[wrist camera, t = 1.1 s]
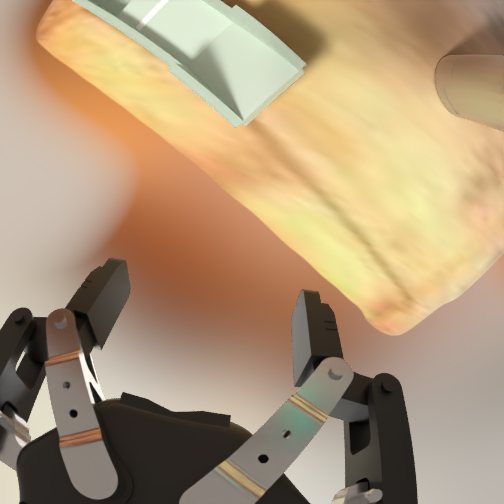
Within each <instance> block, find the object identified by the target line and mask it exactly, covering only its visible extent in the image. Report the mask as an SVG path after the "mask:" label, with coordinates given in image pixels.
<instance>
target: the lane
mask: <svg viewBox="0 0 504 504" xmlns="http://www.w3.org/2000/svg"><path fill="white" fill-rule="evenodd" d="M72 1H74V2H75V3H77V4H79V5H81V6H82V7H84V8H86V9H87V10H89V11H91V12H92V13H94V14H96V15H97V16H99V17H100V18H102V19H104V20H105V21H107V22H108V23H110V24H111V25H113V26H114V27H116V28H117V29H119V30H120V31H122V32H123V33H125V34H126V35H128V36H129V37H131V38H132V39H133V40H135V41H136V42H138V43H139V44H140V45H142V46H143V47H145V48H146V49H147V50H149V51H150V52H151V53H153V54H154V55H155V56H157V57H158V58H159V59H161V60H162V61H163V62H165V63H166V64H167V65H169V66H170V68H169V69H168V71H169V72H170V73H172V74H173V75H174V76H175V77H177V78H178V79H179V80H180V81H182V82H183V83H184V84H185V85H186V86H188V87H189V88H190V89H191V90H192V91H194V92H195V93H196V94H197V95H198V96H200V97H201V98H202V99H203V100H204V101H205V102H207V103H208V104H209V105H210V106H211V107H212V108H214V109H215V110H216V111H217V112H218V113H219V114H220V115H222V116H223V117H224V118H225V119H226V120H227V121H228V122H229V123H230V124H232V125H233V126H234V127H235V128H236V127H237V126H238V125H239V124H241V125H243V126H246V125H247V124H249V123H250V122H251V121H252V120H253V119H254V118H255V117H256V116H257V115H258V114H259V113H260V112H261V111H262V110H263V109H265V108H266V107H267V106H268V105H269V104H270V103H271V102H272V101H273V100H275V99H276V98H277V97H278V96H279V95H280V94H281V93H283V92H284V91H285V90H286V89H287V88H288V87H289V86H291V85H292V84H293V83H294V82H295V81H297V80H298V79H299V78H300V77H301V76H303V75H304V74H305V73H304V71H303V69H302V68H303V67H304V66H305V65H307V64H306V63H305V62H304V61H303V60H302V59H301V58H300V57H299V56H298V55H296V54H295V53H294V52H293V51H292V50H291V49H290V48H289V47H288V46H287V45H286V44H284V43H283V42H282V41H281V40H280V39H279V38H278V37H277V36H275V35H274V34H273V33H272V32H271V31H269V30H268V29H267V28H266V27H265V26H263V25H262V24H261V23H260V22H258V21H257V20H256V19H255V18H253V17H252V16H251V15H249V14H248V13H247V12H245V11H244V10H243V9H241V8H240V7H239V6H237V5H235V6H234V7H233V8H231V7H229V6H228V5H226V4H225V3H224V2H222V1H221V0H72Z"/></svg>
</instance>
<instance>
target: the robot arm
mask: <svg viewBox="0 0 504 504" xmlns="http://www.w3.org/2000/svg"><path fill="white" fill-rule="evenodd" d="M435 84H436V89H437V92H438V95H439V97H440V99H441V101H442V103H443V104H444V106H445V107H446V108H447V109H448V111H449V112H451V113H452V114H453V115H455V116H457V117H460V118H464V119H467V120H471V121H474V122H477V123H480V124H483V125H486V126H489V127H492V128H495V129H498V130H500V131H503V132H504V55H492V54H459V55H448V56H445V57H444V58H442V59H441V60H440V62H439V63H438V65H437V68H436V72H435ZM129 294H130V282H129V276H128V269H127V264H126V261H125V260H120V259H114V258H109V259H108V260H107V262H106V263H105V265H104V266H103V267H100V266H99V267H98V268H96V269H95V270H94V271H92V272H91V273H90V274H89V275H88V277H87V278H86V279H85V281H84V282H83V283H82V285H81V287H80V288H79V289H78V290H77V292H76V293H75V295H74V296H73V297H72V299H71V300H70V302H69V303H68V305H67V306H66V307H65V309H63V308H61V309H57V310H55V311H53V312H52V313H51V314H50V315H49V316H48V317H33V315H32V313H31V311H30V310H29V309H27V308H19V309H16V310H15V311H13V312H12V313H11V314H10V316H9V317H8V319H7V320H6V322H5V324H4V325H3V327H2V328H1V330H0V460H1V461H2V462H4V463H5V464H7V465H8V466H9V467H11V468H12V469H14V470H16V471H17V477H18V482H19V490H20V502H19V504H310V503H309V502H308V501H307V499H306V498H305V497H304V496H303V495H302V494H301V493H300V492H299V490H298V489H297V488H296V487H295V486H294V485H293V484H292V482H291V481H290V480H289V479H288V478H287V477H286V475H285V474H284V472H285V471H286V470H287V468H288V467H289V466H290V465H291V464H292V463H293V462H294V460H295V459H296V458H297V457H298V456H299V454H300V453H301V452H302V451H303V450H304V449H305V447H306V446H307V445H308V444H309V442H310V441H311V440H312V439H313V437H314V436H315V435H316V433H317V432H318V431H319V430H320V428H321V427H322V426H323V424H324V423H325V421H326V420H327V417H328V416H331V417H335V418H338V419H341V420H344V439H345V489H342V490H340V491H339V492H338V493H337V494H336V495H335V496H334V498H333V500H332V504H418V500H417V484H416V473H415V465H414V464H415V463H414V455H413V448H412V441H411V434H410V428H409V422H408V417H407V411H406V407H405V401H404V396H403V391H402V387H401V384H400V382H399V381H398V379H396V378H395V377H394V376H393V375H390V374H388V373H381V374H378V375H376V376H375V378H374V379H373V378H369V377H366V376H363V375H360V374H357V373H355V372H353V370H352V368H351V366H350V365H349V363H348V362H346V361H345V360H344V359H343V353H342V348H341V344H340V338H339V333H338V331H337V330H338V329H337V324H336V319H335V315H334V312H333V311H332V309H331V308H330V306H329V305H328V304H324V303H321V300H320V295H319V292H318V291H312V290H304V289H302V290H301V291H300V294H299V297H298V300H297V303H296V306H295V309H294V312H293V315H292V321H291V332H292V350H293V371H294V386H295V387H301V388H300V389H299V390H298V391H297V392H296V393H295V394H294V395H292V396H291V397H290V398H289V399H288V400H287V401H286V402H285V403H284V404H283V405H282V406H281V407H280V408H279V409H278V410H277V411H276V412H275V413H274V414H273V416H272V417H271V418H270V419H269V420H268V421H267V422H266V423H265V424H264V425H263V426H262V427H261V428H260V429H259V430H258V431H257V432H256V433H255V434H254V435H252V434H251V433H250V432H249V431H247V430H246V429H244V428H243V427H241V426H239V425H237V424H235V423H232V422H230V417H231V415H225V414H217V413H211V412H205V411H196V412H195V411H194V412H173V411H170V410H168V409H166V408H164V407H162V406H160V405H158V404H156V403H154V402H152V401H150V400H148V399H146V398H142V397H138V396H135V395H131V394H127V393H125V392H123V393H122V395H121V398H116V399H115V398H114V399H107V400H106V398H105V396H104V394H103V392H102V389H101V387H100V383H99V380H98V377H97V374H96V370H95V367H94V363H93V359H92V356H91V351H92V349H93V348H96V349H99V350H102V348H103V346H104V344H105V342H106V340H107V338H108V336H109V334H110V332H111V330H112V328H113V326H114V324H115V322H116V320H117V318H118V316H119V314H120V312H121V311H122V309H123V307H124V305H125V303H126V301H127V299H128V297H129ZM23 350H24V352H25V355H24V357H23V359H22V361H21V363H20V365H19V367H18V369H17V371H16V370H15V368H16V364H17V362H18V360H19V358H20V356H21V354H22V352H23ZM45 376H47V382H48V388H49V394H50V399H51V404H52V409H53V413H54V417H55V422H56V425H57V427H56V428H54V429H52V430H50V431H49V432H47V433H45V434H43V435H42V436H40V437H38V438H36V439H35V440H33V441H31V436H30V434H29V428H28V425H27V421H28V419H29V416H30V413H31V411H32V408H33V405H34V403H35V400H36V398H37V395H38V393H39V390H40V388H41V385H42V383H43V381H44V378H45ZM30 441H31V442H30Z"/></svg>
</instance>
